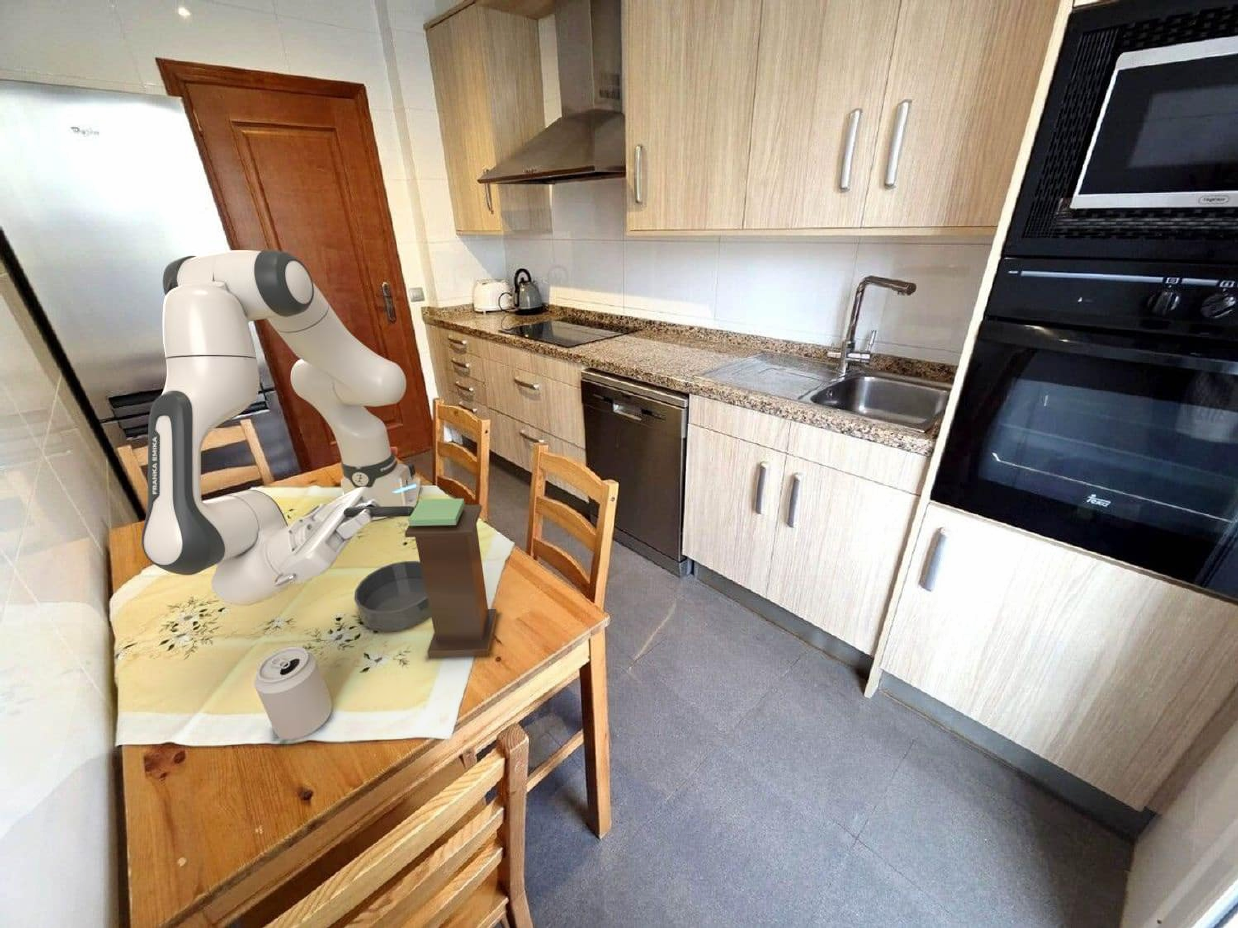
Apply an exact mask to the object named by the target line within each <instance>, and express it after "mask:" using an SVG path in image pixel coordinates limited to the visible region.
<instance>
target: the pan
mask: <svg viewBox="0 0 1238 928" xmlns="http://www.w3.org/2000/svg"><path fill="white" fill-rule="evenodd" d="M353 600H354V603H355V607H356V610H357V613H358V617H359V619H360V621H361V623H362V624H363V625H364V626H365V627H367V628H368V629H370V630H373V631H377V632H383V633H390V632H399V631H403V630H407V629H410V628H413V627H414V626H417V625H419V624H421V623H422V622H425V621H426V620H427V619H429V618H431V613H430V608H429V603H428V598H427V594H426V589H425V584H424V579H423V574H422V569H421V564H420V560H404V561H399V562H394V563H393V562H392V563H390V564H387V565H385V566H382V567H379V568H378V569H376V570H375V571H372V572H370V573H369V574H367V575H366V577H365V578H363V579H362V580H360V582H359V583H358V585H357V587H356V589H355V590H354V596H353Z"/></svg>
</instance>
